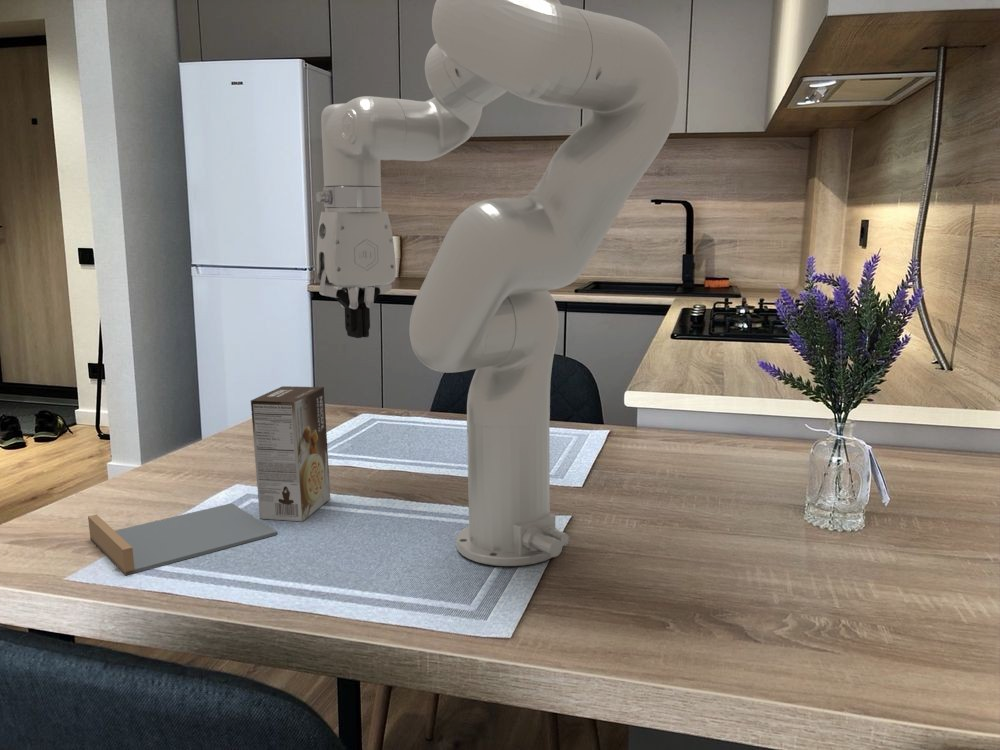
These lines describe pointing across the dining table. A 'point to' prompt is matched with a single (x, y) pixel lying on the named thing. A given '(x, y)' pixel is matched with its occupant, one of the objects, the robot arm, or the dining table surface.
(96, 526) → the board
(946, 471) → the dining table surface
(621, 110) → the robot arm
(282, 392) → the food box
